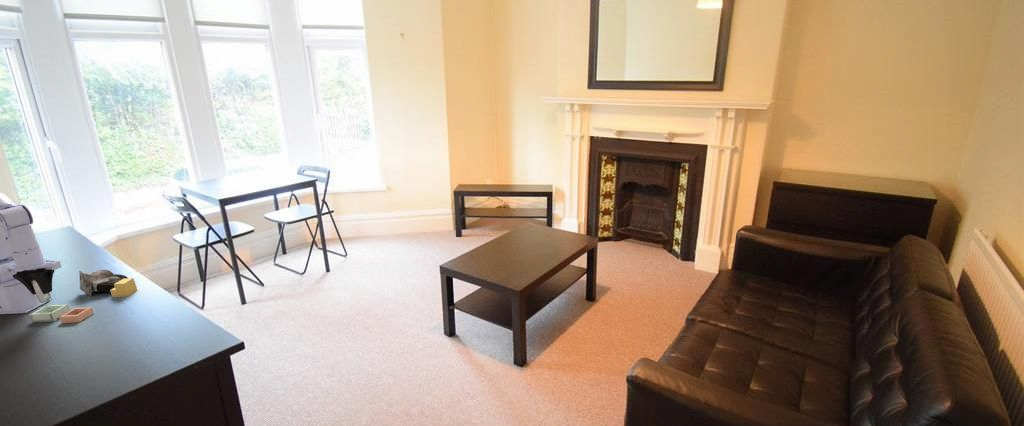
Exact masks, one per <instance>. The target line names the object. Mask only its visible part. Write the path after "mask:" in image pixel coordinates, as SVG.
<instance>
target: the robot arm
mask: <svg viewBox="0 0 1024 426" xmlns="http://www.w3.org/2000/svg"><path fill="white" fill-rule="evenodd" d="M33 224H34V218H33V215H32V213H31V210H30V209H29V208H28V207H27V206H26V205H25V204H20V203H17V204H16V203H15V202H14V201H13V200H12V199H10V198H9V196H7V195H6V194H5V193H2V192H0V315H9V314H11V315H12V314H13V315H14V314H27V313H30V312H31V311H32V310H35V309H37V308H38V307H40V306H43V305H44V304H46V303H47V302H45V303H40V302H39V300H38V297H37V295H36V292H35V290H34V288H33V285H32V283H31V280H32V279H34V280H35V281H36V282H37V284H38V285H39V287H40V289H41V291H42V293H43V294H47V293H52V291H53V277H54V274H55V271H56V270H58V269H61V268H62V265H61V261H60V260H51V259H45V258H44V254H43V253H42V250H41V247H40V245H39V242H38V239H37V237H36V235H35V232H34V229H33V227H32V225H33Z"/></svg>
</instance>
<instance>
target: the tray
mask: <svg viewBox="0 0 1024 426" xmlns="http://www.w3.org/2000/svg"><path fill="white" fill-rule="evenodd" d="M71 310H72V309H71V308H70V305H69V304H68V303H67V304H66V303H65V304H49V305H48V304H47V305H45V306H43V307H41V308H39V309H37V310H35V311H33V312H31V313H30V314H29V317H30V320H31V322H32V323H46V322H50V323H51V322H56V321H58V320H60V316H62V315H64V314H65V313H67V312H69V311H71Z"/></svg>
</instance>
